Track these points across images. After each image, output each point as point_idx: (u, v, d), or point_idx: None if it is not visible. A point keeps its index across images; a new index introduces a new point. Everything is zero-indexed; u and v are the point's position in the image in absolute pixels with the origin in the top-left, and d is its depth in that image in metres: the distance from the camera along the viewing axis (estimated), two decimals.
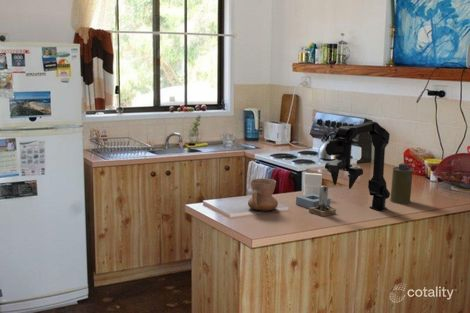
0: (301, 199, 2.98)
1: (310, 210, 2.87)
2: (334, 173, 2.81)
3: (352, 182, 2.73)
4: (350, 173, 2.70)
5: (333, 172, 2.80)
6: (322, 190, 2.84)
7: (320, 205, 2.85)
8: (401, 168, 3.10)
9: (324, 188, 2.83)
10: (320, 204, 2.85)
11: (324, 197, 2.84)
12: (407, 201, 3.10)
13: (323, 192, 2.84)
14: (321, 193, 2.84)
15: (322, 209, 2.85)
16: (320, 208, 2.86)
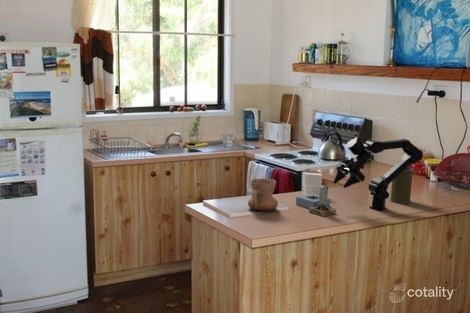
0: (301, 199, 2.98)
1: (310, 210, 2.87)
2: (340, 174, 2.93)
3: (349, 183, 2.83)
4: (353, 171, 2.81)
5: (340, 172, 2.93)
6: (322, 190, 2.84)
7: (320, 205, 2.85)
8: None
9: (324, 188, 2.83)
10: (320, 204, 2.85)
11: (324, 197, 2.84)
12: (407, 201, 3.10)
13: (323, 192, 2.84)
14: (321, 193, 2.84)
15: (322, 209, 2.85)
16: (320, 208, 2.86)
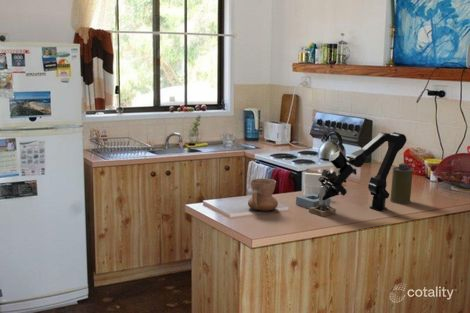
0: (301, 199, 2.98)
1: (310, 210, 2.87)
2: None
3: (328, 195, 2.83)
4: (335, 185, 2.79)
5: None
6: (322, 190, 2.84)
7: (320, 205, 2.85)
8: (401, 168, 3.10)
9: (324, 188, 2.83)
10: (320, 204, 2.85)
11: None
12: (407, 201, 3.10)
13: (323, 192, 2.84)
14: (321, 193, 2.84)
15: (322, 209, 2.85)
16: (320, 208, 2.86)
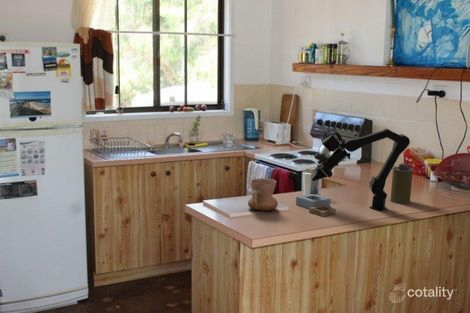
0: (301, 199, 2.98)
1: (310, 210, 2.87)
2: None
3: (317, 176, 2.93)
4: (321, 167, 2.89)
5: None
6: (312, 171, 2.95)
7: (311, 186, 2.97)
8: (401, 168, 3.10)
9: (314, 169, 2.94)
10: (311, 184, 2.96)
11: None
12: (407, 201, 3.10)
13: (313, 173, 2.95)
14: (311, 174, 2.95)
15: (312, 190, 2.96)
16: (311, 189, 2.97)
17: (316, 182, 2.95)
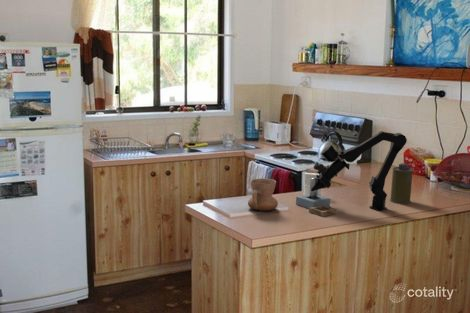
0: (301, 199, 2.98)
1: (310, 210, 2.87)
2: None
3: (316, 186, 2.95)
4: (319, 177, 2.91)
5: (318, 178, 3.00)
6: (311, 181, 2.97)
7: (310, 196, 2.99)
8: (401, 168, 3.10)
9: (313, 179, 2.96)
10: (310, 194, 2.98)
11: None
12: (407, 201, 3.10)
13: (312, 183, 2.97)
14: (311, 184, 2.97)
15: None
16: (310, 198, 2.99)
17: (315, 192, 2.97)
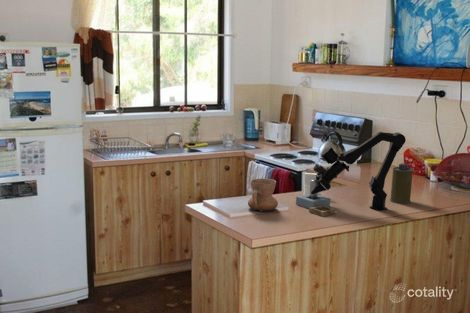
0: (301, 199, 2.98)
1: (310, 210, 2.87)
2: None
3: (316, 190, 2.93)
4: (319, 179, 2.91)
5: (317, 179, 3.03)
6: (311, 183, 2.97)
7: (310, 198, 2.99)
8: (401, 168, 3.10)
9: (313, 181, 2.96)
10: (310, 196, 2.99)
11: None
12: (407, 201, 3.10)
13: (312, 185, 2.97)
14: (310, 186, 2.98)
15: None
16: None
17: (315, 194, 2.97)
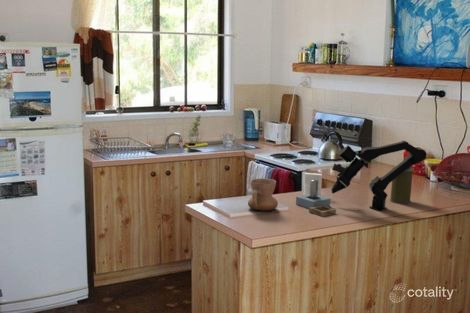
0: (301, 199, 2.98)
1: (310, 210, 2.87)
2: None
3: (336, 188, 2.91)
4: (338, 177, 2.90)
5: None
6: (311, 183, 2.97)
7: (310, 198, 2.99)
8: None
9: (313, 181, 2.96)
10: (310, 196, 2.99)
11: (313, 190, 2.97)
12: (407, 201, 3.10)
13: (312, 185, 2.97)
14: (310, 186, 2.98)
15: None
16: None
17: (315, 194, 2.97)
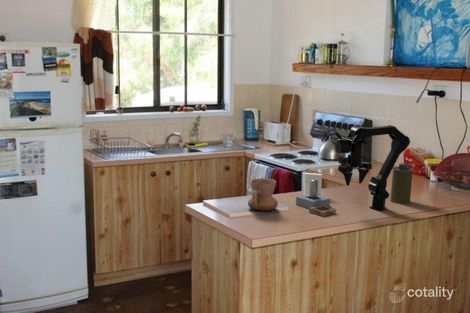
0: (301, 199, 2.98)
1: (310, 210, 2.87)
2: (360, 172, 2.94)
3: (346, 179, 2.87)
4: None
5: (359, 171, 2.94)
6: (311, 183, 2.97)
7: (310, 198, 2.99)
8: (401, 168, 3.10)
9: (313, 181, 2.96)
10: (310, 196, 2.99)
11: (313, 190, 2.97)
12: (407, 201, 3.10)
13: (312, 185, 2.97)
14: (310, 186, 2.98)
15: None
16: None
17: (315, 194, 2.97)
